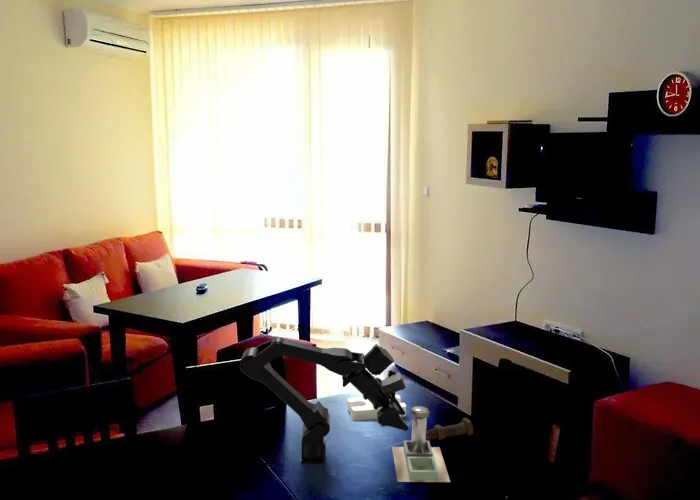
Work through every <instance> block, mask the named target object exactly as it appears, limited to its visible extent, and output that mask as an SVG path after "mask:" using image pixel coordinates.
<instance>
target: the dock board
mask: <svg viewBox="0 0 700 500" xmlns="http://www.w3.org/2000/svg"><path fill="white" fill-rule="evenodd" d="M391 449H392V456H393V462H394V467H395V474H396V480H397V482H398V483H399V482H400V483H451V480H450V476H449V473H448V470H447V466H446V463H445V460H444V457H443V455H442V451H441V447H439V446H433V447H432V446H431V449H432V453H433V457H434V458H435V462H436V465H437V469H438V480H409V475H408V470H407V465H406V459H405V454H404V449H403V446H391ZM408 451H409V452H410V453H411V450H408ZM425 453H427V450H425ZM412 470H432V468H431V467H422V466H412Z"/></svg>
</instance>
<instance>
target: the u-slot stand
mask: <svg viewBox="0 0 700 500" xmlns="http://www.w3.org/2000/svg"><path fill="white" fill-rule="evenodd" d="M395 397H396V399H397V400H398V402H399V403H400V405H401V407H402V408H403V410H404V411H405V414H404V415H400V414H399V415H400V417H401V418H402V417H405V416H406V415H407V404H406V403H405V402H402V398H401V395H400V394H396V393H395ZM346 400H347V403H346V407H347V412H350V418H351V420H353V421H365V420H377V412H378V411H379V410H380V409H381V408H382V407H381V408H380V407H379V408H378V409H377V410H375V409H374V408H373V404H372V403H371V402H370V401H369V400H368V399H367V400H365V399H364V398H363V396H359V397H348V398H347V399H346Z"/></svg>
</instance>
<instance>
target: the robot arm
mask: <svg viewBox="0 0 700 500" xmlns="http://www.w3.org/2000/svg"><path fill="white" fill-rule="evenodd" d="M279 356H281V357H286V358H290V359H294V360H299V361H302V362H307V363H310V364H314V365H319V366H322V367H324V369H326V370H327V371H329V372H332V373H333V374H336V375H339V376H341V378H342V387H343V388H345V387H347V385H349V384H351V385H352V386H353V387H354V388H355V390H357V391H358V392H359V393H360V394H361V395H362V397H363V398H364V399H365V400H367V399H368V400H369V401H370V402H371V403H372V404H373V408H374V409H375V410H377V409H378V408H379V407H380V408H381V407H382V408H381V409H380V410H379V411H378V412H377V419H376V420H377V423H378V424H379V425H380V427H382V428H383V427H384V428H385V427H390V428H395V429H398V430H402V431H404V432H407V431H409V426H408V424H407V423H406V421H405V420H404V419H403V418H402V417H400V415H404V414H405V411H404V410H403V408H402V407H401V405H400V403H399V402H398V400H397V399H396V397H395V394H396V393H397V392H400V391H404V390H406V388H407V386H406V384H405V383H406V382H405V380H404V378H403V376H402V374H401V373H400V372H399V371H396V370H395V369H390V370H388V371H387V376H386V377H385V378H384V379H381V378H380V377H375V376H380V375H382V373H383V372H385V370H387V369H388V368H389V367H390V366H392V364H393V363H394V362H395V360H394V358H393V357H392V355H391V354H390V353H389V351H388V350H387V349H386V348H383V347H382V346H379V344H377V343H376V344H374V345H373V346H372V348H371V349H370V350H369V351H368V352H367V353H366V354H364V353H362V352H355V351H351V350H350V349H349V348H346V347H345V348H344V347H343V348H342V347H329V348H327V347H326V348H323V347H319V346H314V345H312V344H311V345H310V344H306V343H302V342H298V341H295V340H294V341H293V340H289V339H286V338H283V337H280V336H277V337H274V338H272V339H271V340H269V341H266V342H263V343H261V344H259V345H257V346H255V347H248V348H246V350H244V352H243V353H242V357H241V358H240V362H239V369H240V371H241V373H242V374H244V375H246V376H247V377H248V378H250V379H252V380H254V381H257V382H260V383H261V384H263V385H265V386H266V387H267V388H268V389H269V390H270V391H272V393H274V395H276V396H277V397H278V398H279V399H280V400H282V401H283V402H284V403H285V405H287V406H288V407H289V408H290V409H291V410H292V411H294V413H296V414H297V415H298V416H299V417H300V420H301V421H302V423H303V424H302V434H301V441H300V443H301V445H300V446H301V453H300V463H301V464H304V463H305V464H323V463H324V462H325V458H326V457H327V455H326V453H327V446H326V445H327V444H326V443H327V441H326V439H325V437H326V436H327V435H328V434H329V433H330V430H331V414H330V413H329V408H327V407H325V406H323V404H322V403H321V402H320V401H319V400H317V401H316V403H313V402H310V401H308V399H306V398H305V397H304V396H303V394H301V393H300V392H299V391H297V390H296V389H295V388H294V387H293V386H292V385H291V384H290V383H288V381H287V380H286V379H284V378H283V377H282V376H281V375H280V374H279V373H278V372H277V371H276V370H274V368H273V367H272V365H271V363H270V362H272V361H273V360H274V359H275V358H278V357H279ZM399 414H400V415H399Z"/></svg>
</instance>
